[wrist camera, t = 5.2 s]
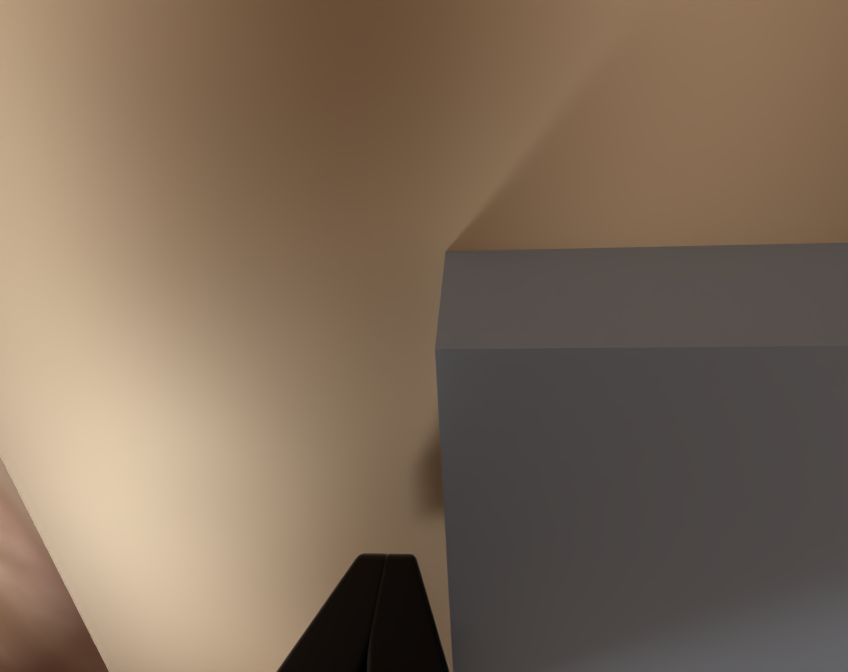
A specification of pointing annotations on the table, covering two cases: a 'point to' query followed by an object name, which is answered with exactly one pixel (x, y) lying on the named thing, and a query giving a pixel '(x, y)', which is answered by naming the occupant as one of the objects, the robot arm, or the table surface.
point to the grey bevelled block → (646, 458)
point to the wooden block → (335, 260)
